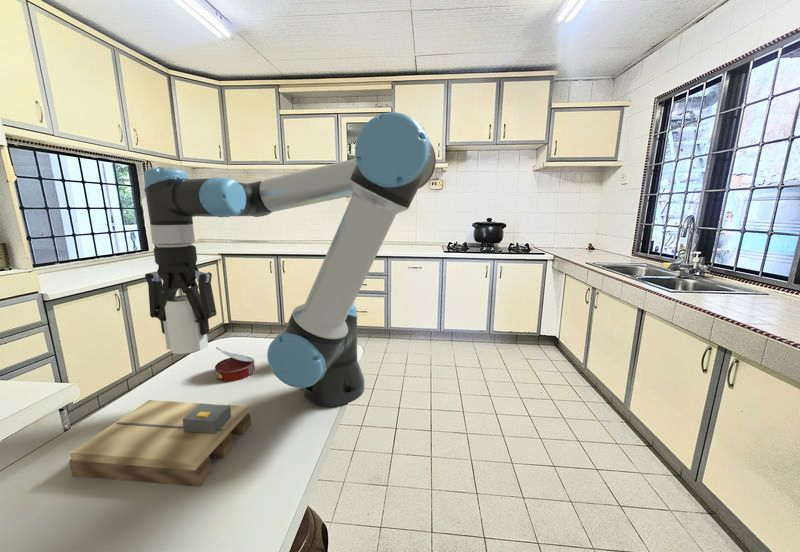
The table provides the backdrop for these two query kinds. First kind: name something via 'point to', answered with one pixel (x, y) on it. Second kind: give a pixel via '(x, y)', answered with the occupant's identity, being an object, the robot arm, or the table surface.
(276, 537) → the table surface
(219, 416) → the block
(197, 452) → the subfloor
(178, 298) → the can
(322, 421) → the table surface
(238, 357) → the canned food
